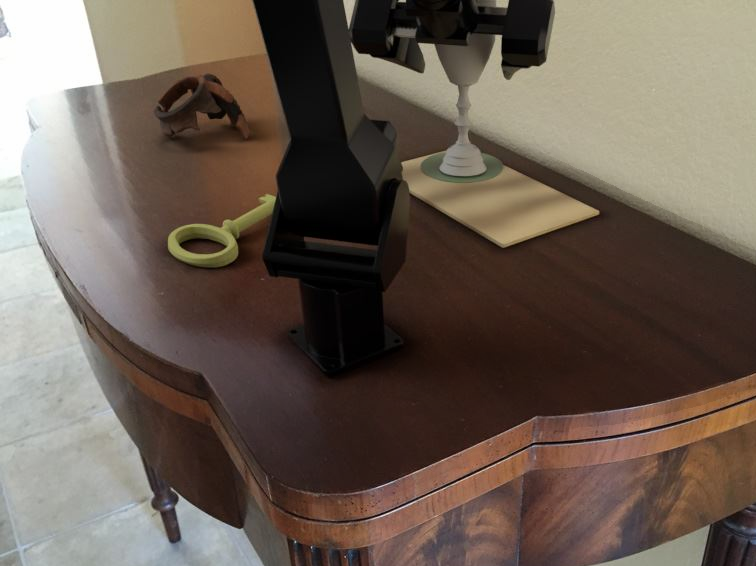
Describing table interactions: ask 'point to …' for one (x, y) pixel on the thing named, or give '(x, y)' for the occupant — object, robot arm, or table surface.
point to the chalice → (465, 97)
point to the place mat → (494, 199)
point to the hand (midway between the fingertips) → (465, 72)
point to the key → (218, 236)
